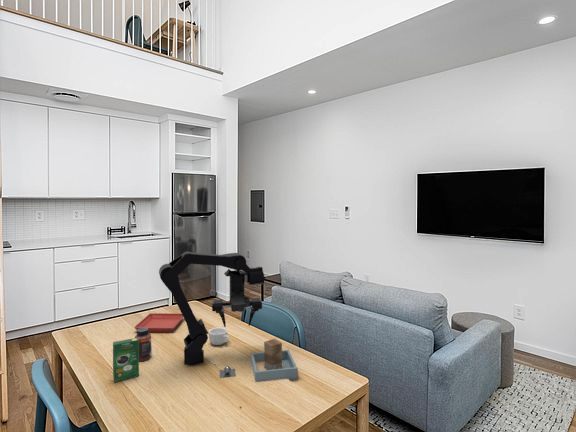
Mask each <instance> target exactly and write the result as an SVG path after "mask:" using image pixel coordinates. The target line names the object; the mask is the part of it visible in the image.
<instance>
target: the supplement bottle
mask: <svg viewBox="0 0 576 432" xmlns="http://www.w3.org/2000/svg"><path fill="white" fill-rule="evenodd" d="M134 338H137V339H138V340H139V362H145V361H148V360H149V359H151V358H152V356H153V355H152V351H153V350H152V335H151V332H148V328H140V329H138V330H136V335H134Z"/></svg>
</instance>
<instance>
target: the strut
mask: <svg viewBox="0 0 576 432" xmlns="http://www.w3.org/2000/svg"><path fill="white" fill-rule="evenodd" d="M263 342H264V344H263V348H264V349H263V352H264V361H263V362H264V365H263V367H264V369H265V370H273V369H283V363H282V350H283V343H282V341H280V340H278V339H276V338H272V339H268V340H265V341H263Z"/></svg>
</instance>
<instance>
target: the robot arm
mask: <svg viewBox="0 0 576 432" xmlns="http://www.w3.org/2000/svg"><path fill="white" fill-rule="evenodd" d="M189 265H204V266H216V267H217V266H218V267H224V268H227V270H226V271H224V273H223V275H224V276H225V277H229V301H223V299H213V300H212V303H211V307H212V308H211V310H212V312H215V313H216V314H218V315H219V316H220V317H221V320H222V324H223V328H226V326H227V325H226V315H225V310H224V308H231V309H230V310H231V312H234V313H236V312H245V308H248V307H249V309H248V310H249V311H248V313H249V314H248V323H247V324H248V327H250V326H251V323H252V320H253V317H254V315H255V313H257V312H259V310H262V309H263V302H262V299H261V298H260V297H252V298H250V297H251V296H245V295H246V293H245V292H246V291H245V290H246V289H245V287H246V286H245V285H246V284H247V285H248V286H257V285H264V283H265V280H266V278H265V273H264V270H263V267H262V266H257V267H250V266H248V264H247V260H246V257H245V256H243V255H242V254H240V253H238V252H232V253H229V252H228V253H225V254H215V253H214V254H213V253H203V252H202V253H200V252H191V251H184V252H183V253H181V254H180V255H179V256H177V257H176V258H174V259H172V260H171V261H170V262H168V263H165V264H163V265H161V266H160V268H159V270H158V274H159V277H160V280H161V282H162V283H163V284H164V286H165V287H166V288H167V289H168V291H170V293H171V294H172V296H173V299H174V300H175V303H176V305H177V307H178V309H179V311H180V312H181V313H180V314H182V315H183V319H184V320H185V323H186V327H187V331H188V334H187V335H186V336H185V337H184V338H183V342H184V343H183V344H184V345H185V346H184V349H183V356H184V357H183V358H184V359H183V360H184V365H187V366H190V367H191V366H197V365H199V364H200V365H201V364H203V363H204V361H205V357H204V356H205V352H204V351H205V350H204V349H203V348H204V345H205V344H206V343H207V341H208V339H209V330H208V329H207V327H206V326H205V323H204V321H203V319H202V318H200V319H199V320H198V318H197V317H196V316H195V314H194V312H193V310H192V307H191V305H190V304H189V302H188V300H187V297H186V295H185V293H184V291H183V289H182V287H181V282H180V277H179V275H180V274H181V273H183V271H184V270H186V268H187V267H188V266H189Z"/></svg>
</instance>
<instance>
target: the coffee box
mask: <svg viewBox="0 0 576 432" xmlns="http://www.w3.org/2000/svg"><path fill="white" fill-rule="evenodd" d="M138 376H140V361H139V340H138V339H137V338H135V337H133V338H128V339H127V338H126V339H122V340H117V341H113V342H112V377H113V382H115V383H116V382H121V381H123V380H128V379H131V378H135V377H138Z"/></svg>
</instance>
